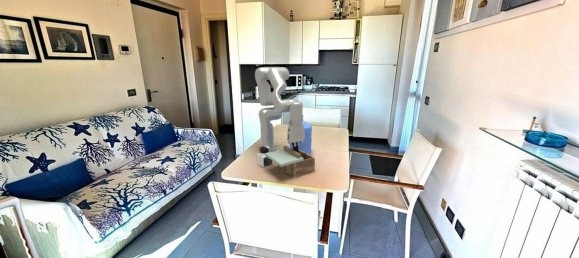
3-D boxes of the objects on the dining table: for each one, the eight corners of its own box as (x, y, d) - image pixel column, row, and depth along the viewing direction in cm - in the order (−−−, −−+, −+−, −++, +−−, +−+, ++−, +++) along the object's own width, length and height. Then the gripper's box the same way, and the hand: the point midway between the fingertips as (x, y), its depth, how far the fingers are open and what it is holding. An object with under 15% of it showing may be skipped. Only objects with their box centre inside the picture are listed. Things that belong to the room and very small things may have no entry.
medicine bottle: (263, 167, 149) (263, 150, 146) (257, 164, 154) (256, 146, 151) (272, 164, 154) (272, 147, 150) (266, 161, 159) (265, 144, 155)
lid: (265, 155, 144) (265, 149, 143) (286, 150, 152) (286, 144, 151) (280, 166, 129) (280, 160, 128) (303, 160, 137) (303, 154, 136)
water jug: (309, 157, 164) (311, 118, 156) (287, 156, 167) (287, 117, 159) (312, 149, 179) (313, 113, 171) (291, 148, 182) (292, 112, 174)
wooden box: (278, 166, 151) (278, 153, 149) (297, 161, 159) (297, 148, 156) (294, 177, 137) (294, 163, 134) (314, 171, 144) (315, 157, 142)
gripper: (288, 125, 132) (288, 156, 137) (310, 122, 140) (309, 151, 145) (281, 122, 138) (281, 152, 143) (302, 119, 146) (301, 147, 151)
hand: (295, 151), depth 144 cm, fingers closed
